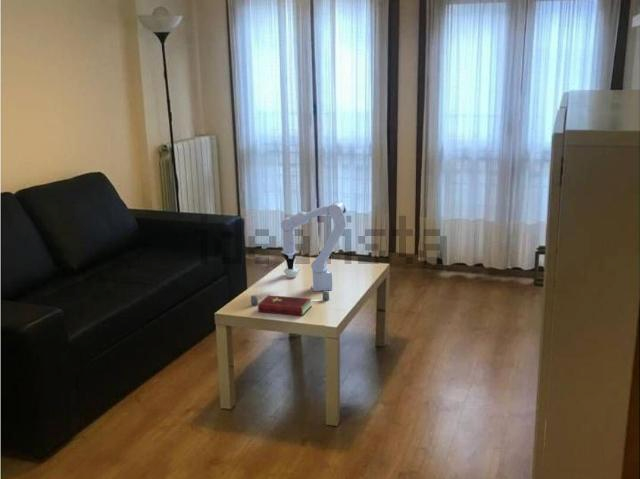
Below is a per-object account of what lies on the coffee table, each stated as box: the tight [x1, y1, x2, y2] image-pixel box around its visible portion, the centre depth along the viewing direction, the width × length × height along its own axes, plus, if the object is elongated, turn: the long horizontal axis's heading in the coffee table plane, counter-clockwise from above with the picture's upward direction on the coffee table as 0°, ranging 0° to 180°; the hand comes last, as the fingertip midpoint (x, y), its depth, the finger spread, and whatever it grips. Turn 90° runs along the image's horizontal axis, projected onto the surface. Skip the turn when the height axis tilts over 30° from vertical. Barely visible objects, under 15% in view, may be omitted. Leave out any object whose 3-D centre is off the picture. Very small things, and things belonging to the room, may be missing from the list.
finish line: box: [250, 290, 330, 307], centre depth 302 cm, size 36×3×4 cm, turn 97°
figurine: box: [283, 257, 301, 278], centre depth 340 cm, size 7×9×15 cm
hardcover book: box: [257, 294, 312, 317], centre depth 293 cm, size 12×21×4 cm, turn 72°
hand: (290, 268), depth 322 cm, fingers closed
